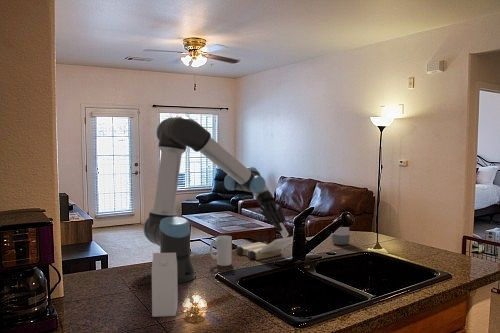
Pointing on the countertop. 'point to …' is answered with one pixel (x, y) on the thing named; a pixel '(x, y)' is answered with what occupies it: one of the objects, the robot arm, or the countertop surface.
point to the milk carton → (164, 284)
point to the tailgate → (277, 244)
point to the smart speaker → (341, 236)
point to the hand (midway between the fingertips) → (286, 236)
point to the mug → (222, 250)
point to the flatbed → (256, 250)
